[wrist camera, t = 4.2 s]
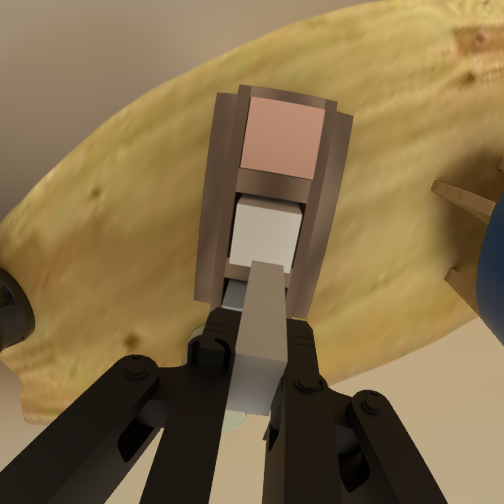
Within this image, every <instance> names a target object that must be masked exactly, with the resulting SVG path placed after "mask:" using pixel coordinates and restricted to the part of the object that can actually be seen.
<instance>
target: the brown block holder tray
mask: <svg viewBox="0 0 504 504" xmlns="http://www.w3.org/2000/svg"><path fill="white" fill-rule="evenodd" d="M251 97H258V98H265V99H271V100H278V101H284V102H289V103H295V104H300V105H305V106H310V107H315V108H320V109H324V110H325V115H324V121H323V126H322V132H321V138H320V144H319V149H318V155H317V160H316V166H315V171H314V176H313V180H311V179H306V178H301V177H295V176H290V175H284V174H279V173H273V172H267V171H261V170H255V169H248V168H242V167H240V166H241V159H242V153H243V146H244V140H245V133H246V127H247V121H248V114H249V108H250V102H251ZM337 103H338V102H336V101H332V100H328V99H323V98H319V97H314V96H309V95H304V94H299V93H294V92H288V91H282V90H276V89H270V88H263V87H255V86H247V85H239V91H238V94H228V93H217V97H216V103H215V109H214V116H213V122H212V129H211V136H210V143H209V151H208V158H207V166H206V174H205V182H204V191H203V200H202V209H201V219H200V229H199V240H198V251H197V263H196V276H195V291H194V300H197V301H203V302H208V303H211V306H210V312H211V311H213V310H214V309H215V308H217V307H221V308H222V303H223V300H224V297H225V294H226V290H227V287H228V284H229V281H230V278H232V279H238V280H244V281H248V280H249V274H250V269H251V267H248V266H242V265H236V264H230V263H229V261H230V254H231V246H232V239H233V231H234V224H235V217H236V210H237V204H238V202H239V200H240V198H241V197H242V195H243V193H248V194H254V195H260V196H266V197H272V198H278V199H283V200H289V201H295V202H298V205H299V208H300V210H301V213H302V218H301V223H300V228H299V233H298V237H297V242H296V247H295V251H294V256H293V260H292V265H291V269H290V273H284V284H285V305H286V318H288V319H291V317H298V318H305V319H307V315H308V312H309V308H310V305H311V302H312V298H313V295H314V291H315V287H316V284H317V280H318V277H319V273H320V269H321V265H322V262H323V258H324V254H325V250H326V246H327V242H328V238H329V234H330V230H331V225H332V221H333V217H334V213H335V208H336V204H337V199H338V195H339V190H340V185H341V181H342V176H343V171H344V166H345V161H346V155H347V150H348V145H349V139H350V134H351V128H352V122H353V116H351V115H347V114H343V113H339V112H336V109H337Z"/></svg>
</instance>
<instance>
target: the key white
mask: <svg viewBox="0 0 504 504" xmlns="http://www.w3.org/2000/svg"><path fill="white" fill-rule="evenodd" d="M301 218H302V213H301V210H300V208H299V205H298V202H295V201H289V200H283V199H278V198H272V197H266V196H260V195H254V194H248V193H243V195H242V197H241V198H240V200H239V202H238V204H237V210H236V217H235V224H234V231H233V239H232V246H231V254H230V261H229V263H230V264H236V265H242V266H248V267H251V264H252V260H255V261H261V262H266V263H272V264H277V265H283V266H284V273H290V269H291V265H292V260H293V256H294V251H295V247H296V242H297V237H298V233H299V228H300V223H301Z"/></svg>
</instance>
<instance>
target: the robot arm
mask: <svg viewBox="0 0 504 504" xmlns="http://www.w3.org/2000/svg"><path fill="white" fill-rule="evenodd" d="M34 326H35V323H34V316H33V313H32V310H31V307H30V304H29V302H28V300H27V298H26V296H25V294H24V293H23V291H22V289H21V288H20V286H19V285H18V284H17V282H16V281H15V280H14V279H13V278H12V277H11V276H10V275H9V274H8V273H7V272H5V271H4V270H2V269H0V353H1V351H2V350H4V349H5V348H8V347H10V346H12V345H15V344H17V343H19V342H22V341H24V340H26V339H27V338H28V337H29V336H30V335H31V334H32V333H33V331H34ZM226 410H231V411H237V412H243V413H249V414H256V415H263V416H268V415H269V413H270V410H271V419H270V422H269V424H268V427H267V430H266V432H265V434H264V437H263V440H266V454H265V470H264V483H263V496H262V504H448V503H447V501H446V499H445V497H444V495H443V494H442V492H441V490H440V488H439V486H438V485H437V483H436V481H435V479H434V477H433V475H432V474H431V472H430V470H429V468H428V467H427V465H426V463H425V461H424V460H423V458H422V456H421V455H420V453H419V451H418V449H417V448H416V446H415V444H414V442H413V441H412V439H411V437H410V436H409V434H408V432H407V431H406V429H405V427H404V425H403V424H402V422H401V420H400V419H399V417H398V415H397V414H396V412H395V411H394V409H393V407H392V406H391V404H390V402H389V401H388V400H387V399H386V397H385V396H383V395H382V394H380V393H379V392H376V391H372V390H362V391H359V392H357V393H356V394H355V395H354V396H353V397H350V396H347V395H344V394H341V393H338V392H336V391H333V390H332V389H330V388H329V387H328V385H327V382H326V380H325V379H324V378H323V377H322V376H321V375H320V374H319V368H318V361H317V354H316V348H315V341H314V335H313V330H312V328H311V327H310V325H309V324H308V323H307V321H301V320H295V319H288V318H286V305H285V284H284V266H283V265H277V264H272V263H266V262H261V261H255V260H252V264H251V269H250V274H249V280H248V285H247V290H246V295H245V300H244V306H243V311H237V310H231V309H226V308H221V307H217V308H215V309H214V310H213V311H211V312H210V313H209V316H208V319H207V321H206V324H205V327H204V330H203V332H202V335H198V336H196V337H194V338H192V339H191V340H190V342H189V343H188V351H187V363H186V364H184V365H182V366H179V367H158V366H157V364H156V362H155V361H153V360H152V359H151V358H149V357H146V356H143V355H134V354H132V355H128V356H124V357H123V358H121V359H120V360H118V361H117V362H116V363H115V364H114V365H113V366H112V367H111V368H110V369H108V370H107V371H106V372H105V373H104V374H103V375H102V376H101V377H100V378H99V379H98V380H97V381H96V382H94V383H93V384H92V385H91V386H90V387H89V388H88V389H87V390H86V391H85V392H84V393H83V394H82V395H81V396H80V397H78V398H77V399H76V400H75V401H74V402H73V403H72V404H71V405H70V406H69V407H68V408H67V409H66V410H65V411H64V412H63V413H61V414H60V415H59V416H58V417H57V418H56V419H55V420H54V421H53V422H52V423H51V424H50V425H49V426H48V427H47V428H46V429H45V430H44V431H43V432H41V433H40V434H39V435H38V436H37V437H36V438H35V439H34V440H33V441H32V442H31V443H30V444H29V445H28V446H27V447H26V448H25V449H24V450H23V451H22V452H21V453H20V454H19V455H18V456H16V457H15V458H14V459H13V460H12V461H11V462H10V463H9V464H8V466H6V467H5V468H4V469H3V470H2V471H1V472H0V504H104V503H105V502H106V501H107V499H108V498H109V497H110V495H111V494H112V493H113V492H114V490H115V489H116V488H117V486H118V485H119V484H120V483H121V481H122V480H123V479H124V477H125V476H126V475H127V473H128V472H129V471H130V470H131V468H132V467H133V466H134V464H135V463H136V462H137V460H138V459H139V458H140V456H141V455H142V454H143V452H144V451H145V450H146V448H147V447H148V446H149V444H150V443H151V442H152V440H153V439H154V438H155V436H156V435H157V433H158V432H159V431H160V429H161V428H164V431H163V434H162V437H161V440H160V442H159V445H158V448H157V451H156V454H155V457H154V461H153V464H152V466H151V469H150V472H149V475H148V478H147V481H146V484H145V488H144V490H143V493H142V496H141V500H140V503H139V504H208V503H209V498H210V492H211V487H212V481H213V476H214V471H215V465H216V460H217V454H218V449H219V443H220V438H221V432H222V427H223V421H224V416H225V411H226Z"/></svg>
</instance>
